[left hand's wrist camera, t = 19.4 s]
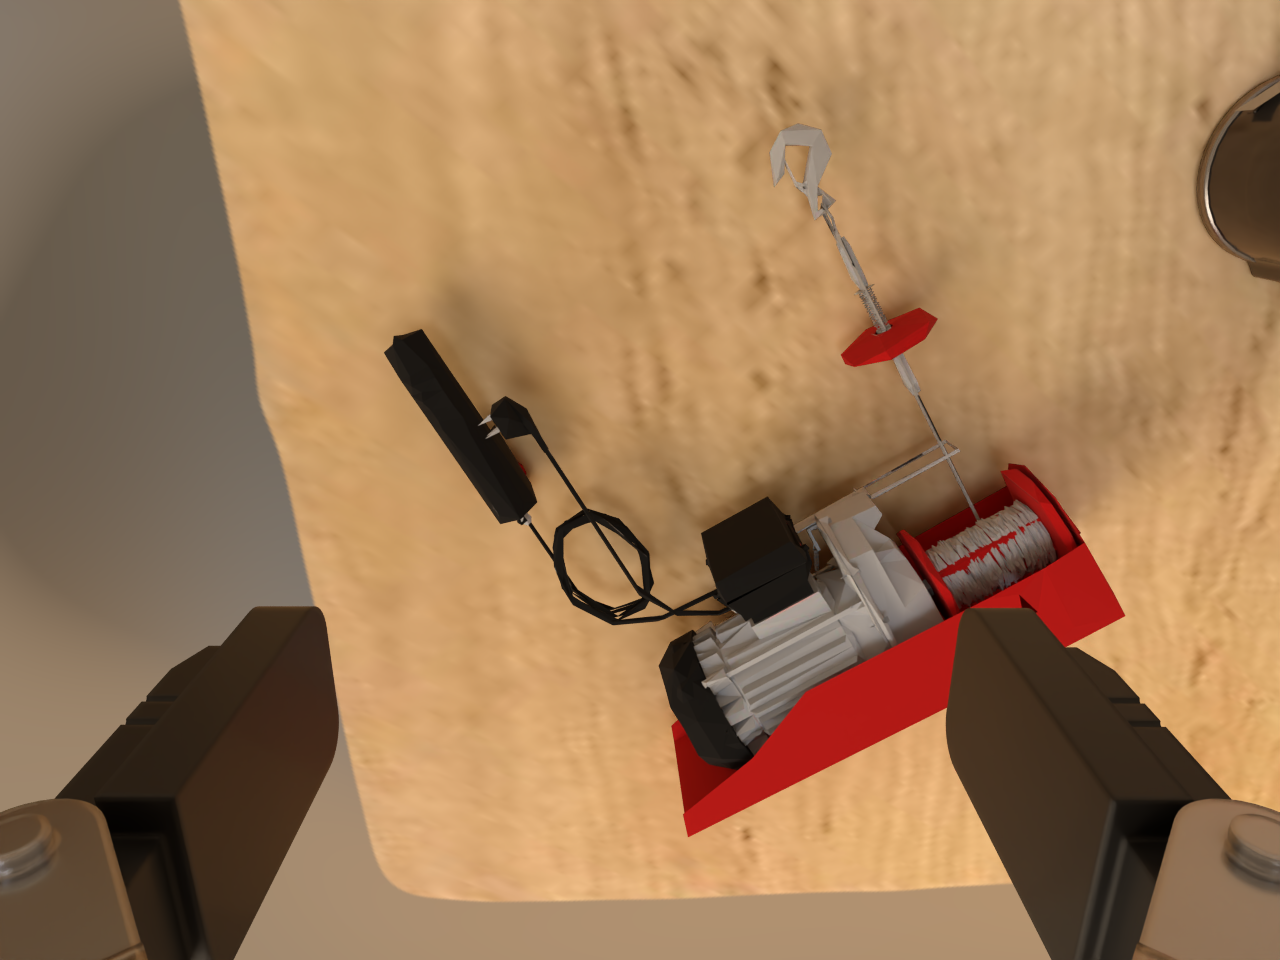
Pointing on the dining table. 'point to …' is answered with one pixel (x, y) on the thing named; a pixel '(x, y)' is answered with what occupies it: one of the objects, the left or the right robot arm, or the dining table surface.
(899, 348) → the electric hoist
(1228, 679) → the dining table surface
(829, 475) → the dining table surface
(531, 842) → the dining table surface
